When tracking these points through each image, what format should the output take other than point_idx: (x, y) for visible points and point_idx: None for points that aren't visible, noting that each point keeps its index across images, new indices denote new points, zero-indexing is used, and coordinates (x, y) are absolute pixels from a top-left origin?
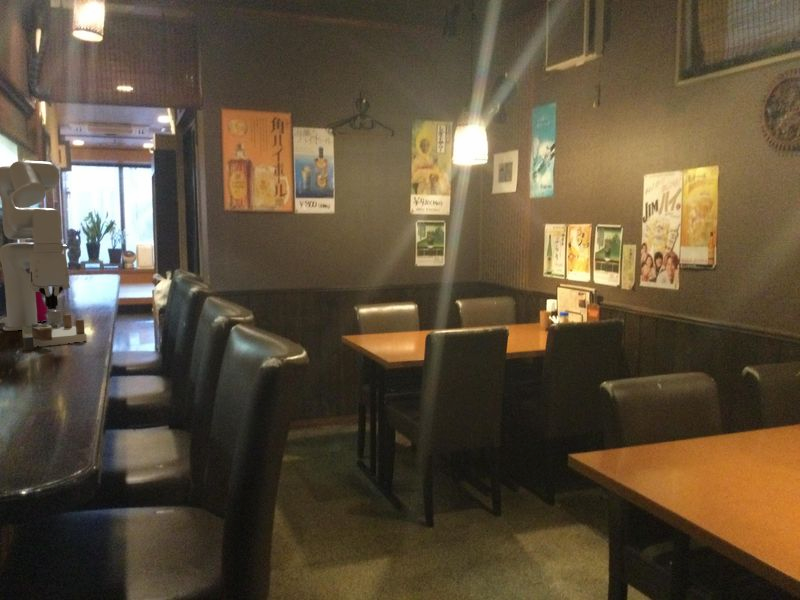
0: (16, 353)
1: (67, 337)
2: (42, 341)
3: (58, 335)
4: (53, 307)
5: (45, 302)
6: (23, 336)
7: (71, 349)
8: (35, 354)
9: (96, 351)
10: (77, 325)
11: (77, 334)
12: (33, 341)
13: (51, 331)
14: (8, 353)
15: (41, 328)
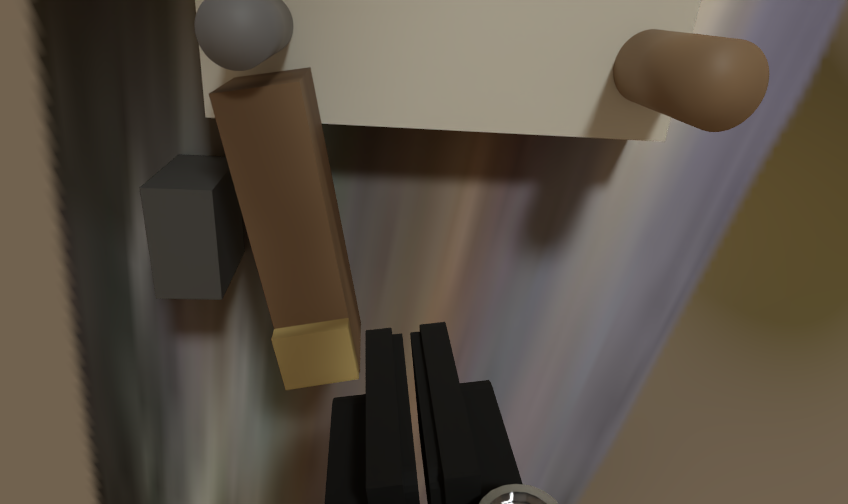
0: (132, 303)
1: (513, 130)
2: None
3: (464, 43)
4: (421, 449)
5: (330, 433)
6: (143, 211)
7: None
8: (245, 401)
9: (537, 487)
10: (657, 105)
11: (608, 104)
12: None
13: (359, 363)
14: (78, 271)
15: (280, 368)
